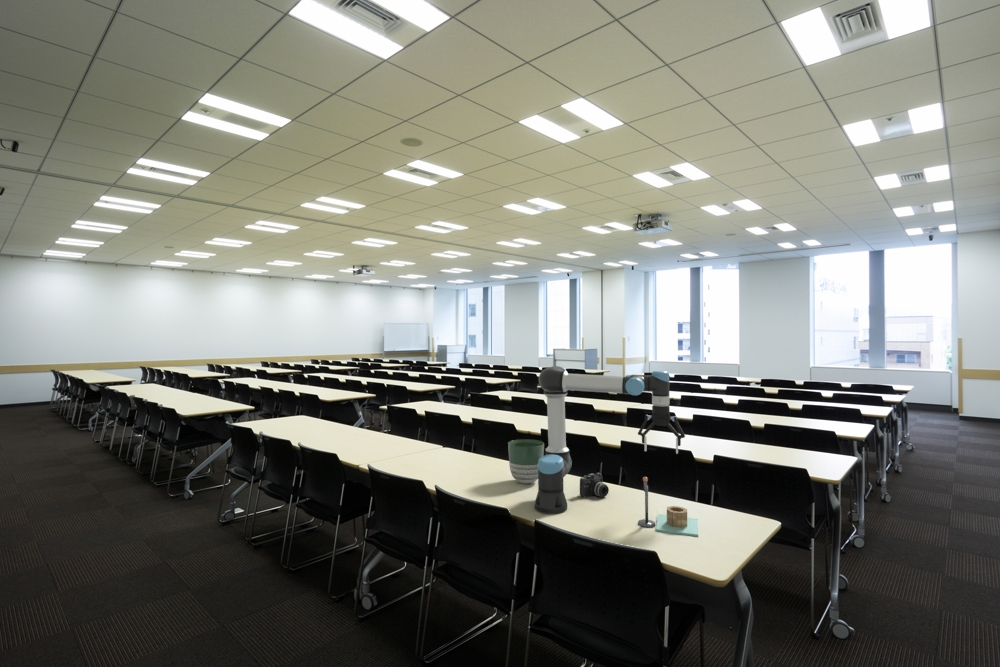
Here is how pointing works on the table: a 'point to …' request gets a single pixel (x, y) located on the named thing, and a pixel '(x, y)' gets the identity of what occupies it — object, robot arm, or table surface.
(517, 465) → the planter
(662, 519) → the board
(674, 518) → the ring
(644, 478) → the wire post
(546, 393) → the robot arm
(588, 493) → the camera
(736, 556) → the table surface
